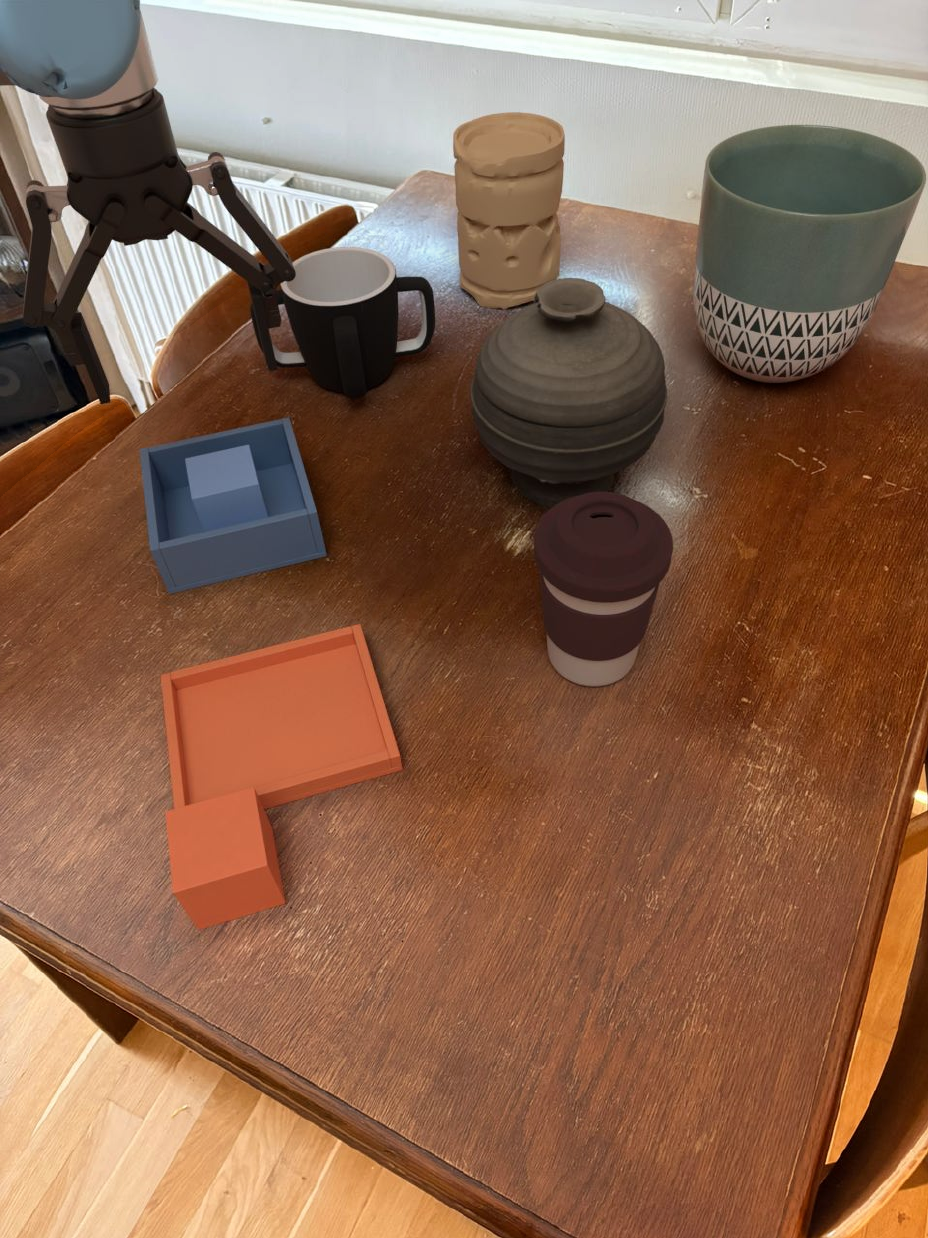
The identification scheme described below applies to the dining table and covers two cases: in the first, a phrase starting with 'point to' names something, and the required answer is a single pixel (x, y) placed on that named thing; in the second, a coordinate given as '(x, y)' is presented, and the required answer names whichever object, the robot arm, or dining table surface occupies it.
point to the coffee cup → (599, 582)
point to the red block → (223, 858)
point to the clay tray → (279, 721)
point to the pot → (568, 392)
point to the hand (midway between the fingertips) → (189, 378)
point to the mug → (349, 318)
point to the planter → (798, 244)
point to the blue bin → (240, 547)
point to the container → (508, 205)
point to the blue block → (225, 488)
